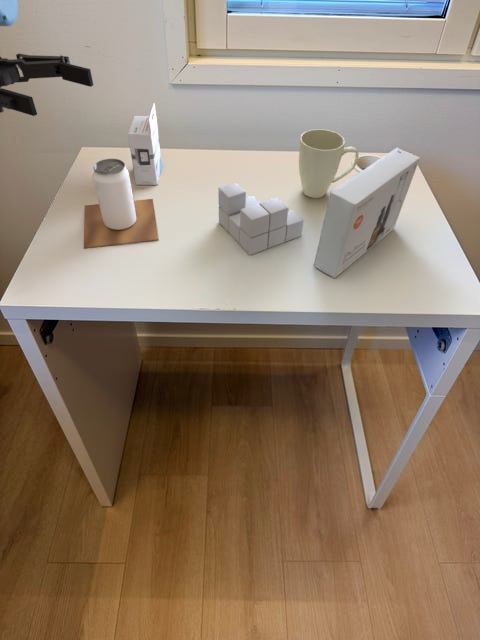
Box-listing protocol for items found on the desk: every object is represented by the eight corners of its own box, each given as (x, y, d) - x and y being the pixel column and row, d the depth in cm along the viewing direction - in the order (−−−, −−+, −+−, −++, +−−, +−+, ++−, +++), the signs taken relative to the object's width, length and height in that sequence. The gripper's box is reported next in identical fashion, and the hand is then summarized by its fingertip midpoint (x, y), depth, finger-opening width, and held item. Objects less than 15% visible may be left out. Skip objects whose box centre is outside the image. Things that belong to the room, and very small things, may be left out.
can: (143, 218, 94) (134, 163, 85) (121, 235, 90) (110, 179, 81) (119, 208, 96) (108, 153, 87) (96, 224, 92) (83, 168, 83)
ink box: (141, 165, 108) (131, 100, 97) (162, 165, 108) (155, 101, 97) (135, 185, 103) (124, 118, 92) (157, 185, 103) (149, 119, 92)
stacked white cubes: (301, 236, 91) (306, 201, 86) (249, 255, 87) (251, 220, 81) (268, 205, 98) (270, 171, 92) (218, 222, 94) (218, 187, 88)
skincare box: (336, 281, 83) (355, 204, 71) (312, 267, 85) (325, 190, 74) (397, 229, 93) (421, 155, 82) (373, 218, 96) (394, 144, 84)
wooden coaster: (83, 248, 88) (83, 247, 87) (85, 206, 97) (84, 205, 97) (158, 240, 90) (158, 239, 89) (152, 199, 99) (152, 198, 99)
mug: (317, 210, 97) (326, 157, 89) (285, 189, 103) (290, 137, 94) (352, 193, 102) (364, 140, 93) (320, 174, 107) (328, 122, 98)
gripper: (31, 67, 94) (114, 89, 88) (-78, 113, 79) (13, 144, 73) (18, 25, 89) (107, 44, 82) (-101, 66, 74) (-5, 94, 67)
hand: (63, 91), depth 78 cm, fingers open, 13 cm apart
